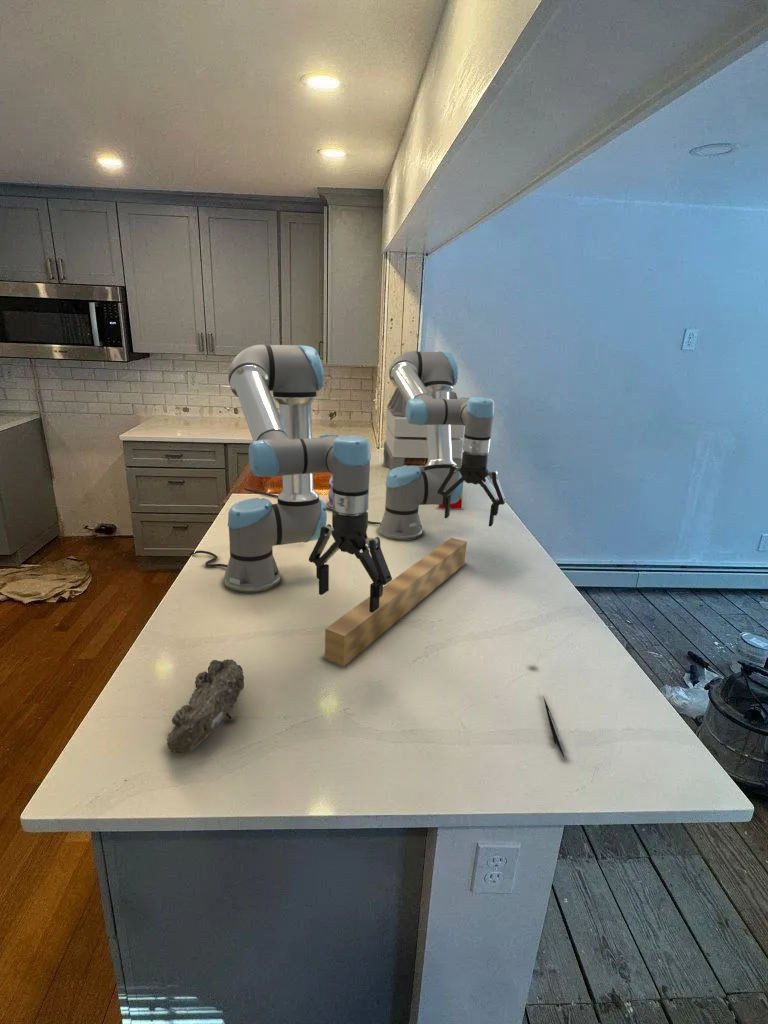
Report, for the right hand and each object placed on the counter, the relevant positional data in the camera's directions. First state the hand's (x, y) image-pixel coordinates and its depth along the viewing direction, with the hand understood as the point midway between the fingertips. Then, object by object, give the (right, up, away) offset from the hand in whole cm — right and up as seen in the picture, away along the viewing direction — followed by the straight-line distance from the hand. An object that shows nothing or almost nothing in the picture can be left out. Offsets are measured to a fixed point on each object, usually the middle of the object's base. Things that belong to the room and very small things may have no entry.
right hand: (468, 520), depth 171 cm
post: (-19, -22, -18) cm, 34 cm away
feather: (+7, -37, -56) cm, 68 cm away
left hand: (-33, -17, -45) cm, 59 cm away
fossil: (-58, -37, -63) cm, 93 cm away
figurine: (-44, +5, +55) cm, 71 cm away
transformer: (-8, +21, +104) cm, 107 cm away
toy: (+1, +8, +69) cm, 70 cm away
